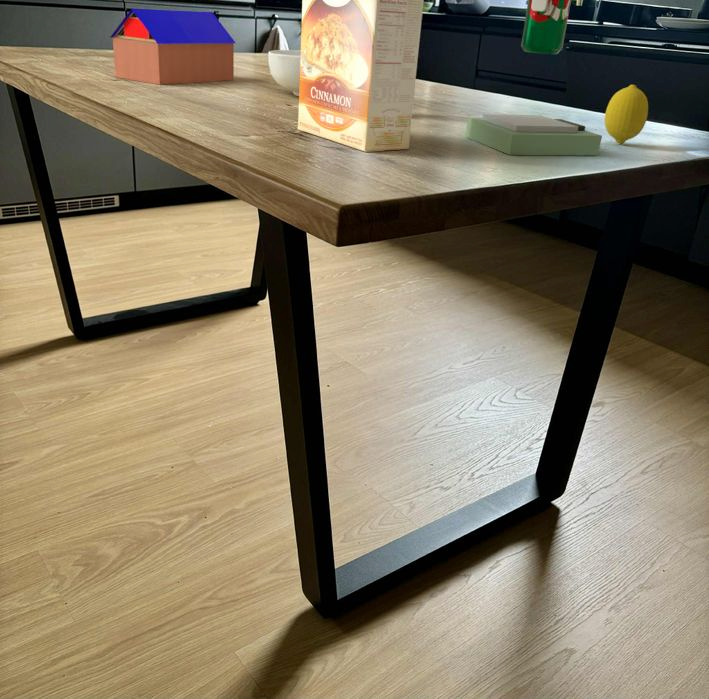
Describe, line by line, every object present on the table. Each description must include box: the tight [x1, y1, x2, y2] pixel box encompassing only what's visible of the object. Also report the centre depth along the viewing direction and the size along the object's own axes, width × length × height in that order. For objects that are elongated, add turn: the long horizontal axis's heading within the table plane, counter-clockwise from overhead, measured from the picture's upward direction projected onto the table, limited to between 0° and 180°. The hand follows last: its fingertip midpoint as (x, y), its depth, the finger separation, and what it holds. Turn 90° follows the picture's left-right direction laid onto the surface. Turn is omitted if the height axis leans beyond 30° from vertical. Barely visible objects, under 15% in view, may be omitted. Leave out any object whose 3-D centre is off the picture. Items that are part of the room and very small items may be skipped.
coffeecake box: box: [297, 0, 425, 153], centre depth 85 cm, size 15×7×20 cm, turn 36°
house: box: [109, 8, 236, 86], centre depth 133 cm, size 12×20×12 cm, turn 147°
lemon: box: [604, 84, 649, 145], centre depth 100 cm, size 6×6×8 cm
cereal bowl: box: [267, 49, 301, 97], centre depth 125 cm, size 17×17×7 cm
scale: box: [465, 113, 603, 156], centre depth 94 cm, size 13×12×3 cm
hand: (548, 12), depth 88 cm, fingers closed on soda can, 5 cm apart
